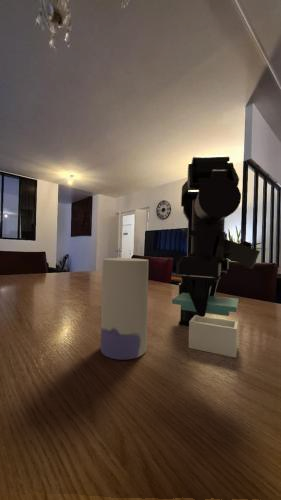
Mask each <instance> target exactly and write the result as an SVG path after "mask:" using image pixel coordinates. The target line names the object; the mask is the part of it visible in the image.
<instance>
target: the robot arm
mask: <svg viewBox="0 0 281 500" xmlns="http://www.w3.org/2000/svg"><path fill="white" fill-rule="evenodd" d="M187 165H188V166H187V180H186V181H185V182H184V184H183V185H182V186H181V194H180V196H181V197H180V207H181V208H182V213H183V215H184V217H185V219H186V220H187V241H186V242H187V243H186V244H187V245H186V246H187V247H186V250H187V251H186V255H183V256H181V257H180V258H179V259H178V260H177V261H176V266H175V267H176V270H175V271H176V273H175V274H176V275H179V276H180V280H181V281H180V283H178V293H177V294H178V295H180V294H182V293H189V295H190V297H191V299H192V302H193V304H194V307H195V309H196V312H195V311H188V310H181V309H180V315H179V316H180V320H179V321H178V324H179V325H185V326H189V321H190V320H191V319H192V318H193V317H194V315H198V316H201V317H204V316H206V314H207V313H206V310H207V305H208V300H209V296H216V291H217V288H218V284H219V281H220V279H221V278H222V277H224V275H226V274H227V273H228V270H229V268H230V267H229V265H230V260H231V261H234V262H236V263H238V264H241V265H242V266H243V267H245V268H247V269H251V270H252V269H253V268H254V266H255V263H256V261H257V259H258V257H259V254H260V253H261V251H260V250H258V249H255V248H253V244H252V242H250V241H246V240H242V241H241V242H239V243H238V242H235V241H232V240H230V239H228V233H226V231H225V219H226V218H228V217H229V216H230V215H232V214H233V213H235V212H236V210H238V208H239V206H240V204H241V202H242V201H241V199H242V192H241V190H240V188H239V183H240V177H239V176H238V173H237V171H236V168H234V163H233V161H230V156H229V155H206V156H205V155H204V156H203V155H202V156H193V157H192V159H191V162H189V163H188V164H187ZM222 269H224V270H222ZM178 295H177V296H178Z"/></svg>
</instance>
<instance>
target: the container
mask: <svg viewBox="0 0 281 500" xmlns="http://www.w3.org/2000/svg"><path fill="white" fill-rule="evenodd" d="M101 276H102V285H101V313H100V314H101V315H100V316H101V318H100V320H101V321H100V353H101V354H102V355H103V356H104V357H107V358H110V359H112V360H113V359H114V360H120V361H121V360H122V361H123V360H124V361H125V360H133V359H137V358H140V357H141V356H143V355H144V354H146V351H147V335H148V334H147V333H148V331H147V330H148V329H147V328H148V300H149V299H148V295H149V294H148V293H149V292H148V291H149V259H144V258H132V257H131V258H130V257H126V258H125V257H117V258H116V257H114V258H113V257H112V258H110V257H108V258H103V260H102V275H101Z"/></svg>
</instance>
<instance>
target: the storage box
mask: <svg viewBox="0 0 281 500" xmlns="http://www.w3.org/2000/svg"><path fill="white" fill-rule="evenodd" d="M238 336H239V321H238V320H232V319H225V318H218V317H213V316H212V317H211V316H206V315H205V316H204V317H201V316H198V315H194V317H193V318H192V319H191V320H190V321H189V325H188V348H189V349H192V350H198V351H203V352H207V353H210V354H211V353H213V354H216V355H222V356H225V357H231V358H237V354H238V346H239V345H238V344H239V343H238V340H239V339H238V338H239V337H238Z"/></svg>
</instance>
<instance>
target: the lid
mask: <svg viewBox="0 0 281 500" xmlns="http://www.w3.org/2000/svg"><path fill="white" fill-rule="evenodd" d="M171 304H172V305H180V311H181V310H188V311H195V312H196V309H195V307H194V304H193V302H192V299H191V297H190V295H189V293H182V294H180V295H176V296H175V297H174V298H172V299H171ZM238 306H239V298H234V297H225V296H216V295H215V296H209V300H208V305H207V310H206V314H209V315H218V316H225V317H229V316H230V313H231V312H233V313H237V310H238Z"/></svg>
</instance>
